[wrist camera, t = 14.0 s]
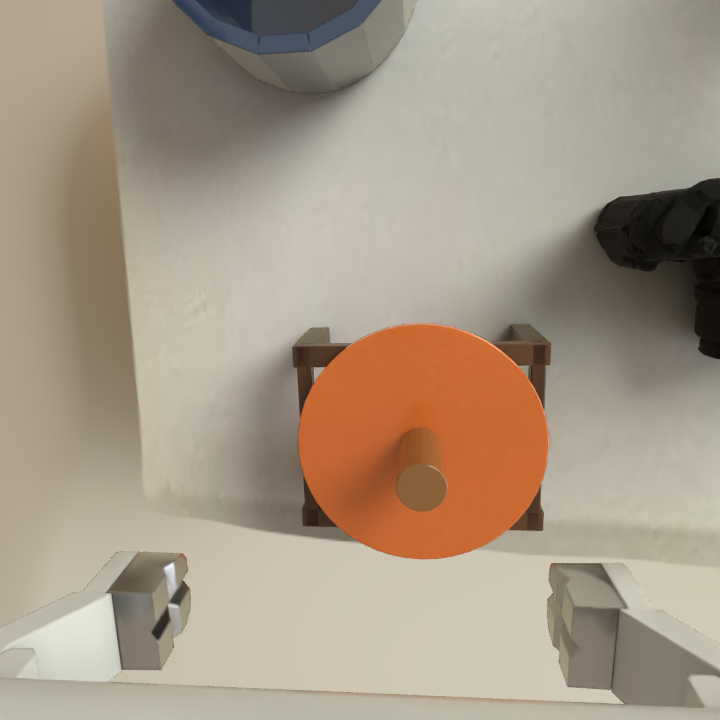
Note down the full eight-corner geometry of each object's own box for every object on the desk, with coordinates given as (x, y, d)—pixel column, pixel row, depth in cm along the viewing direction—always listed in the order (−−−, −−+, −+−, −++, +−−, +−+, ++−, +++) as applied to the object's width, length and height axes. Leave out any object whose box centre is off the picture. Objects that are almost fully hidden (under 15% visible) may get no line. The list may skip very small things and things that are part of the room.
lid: (308, 545, 35) (285, 612, 29) (295, 322, 32) (267, 345, 26) (539, 551, 34) (566, 622, 28) (549, 318, 31) (582, 342, 25)
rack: (319, 483, 41) (302, 526, 35) (311, 327, 38) (292, 346, 32) (524, 485, 39) (543, 531, 33) (530, 324, 37) (551, 343, 31)
